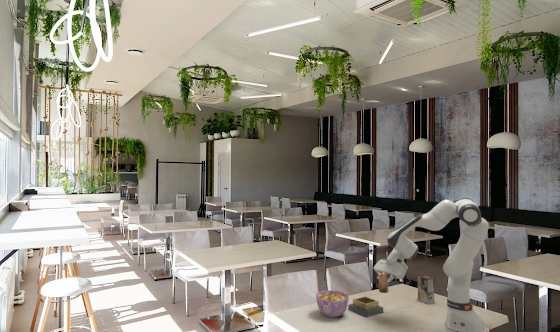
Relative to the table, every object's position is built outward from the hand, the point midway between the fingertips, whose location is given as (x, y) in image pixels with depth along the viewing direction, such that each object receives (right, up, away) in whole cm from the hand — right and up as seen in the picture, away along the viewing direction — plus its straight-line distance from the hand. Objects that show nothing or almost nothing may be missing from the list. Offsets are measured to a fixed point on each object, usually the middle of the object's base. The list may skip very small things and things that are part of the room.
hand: (382, 280), depth 223 cm
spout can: (+1, -6, 0) cm, 6 cm away
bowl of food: (-28, -23, +8) cm, 37 cm away
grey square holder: (-7, -23, +15) cm, 28 cm away
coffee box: (+38, -24, +33) cm, 55 cm away
